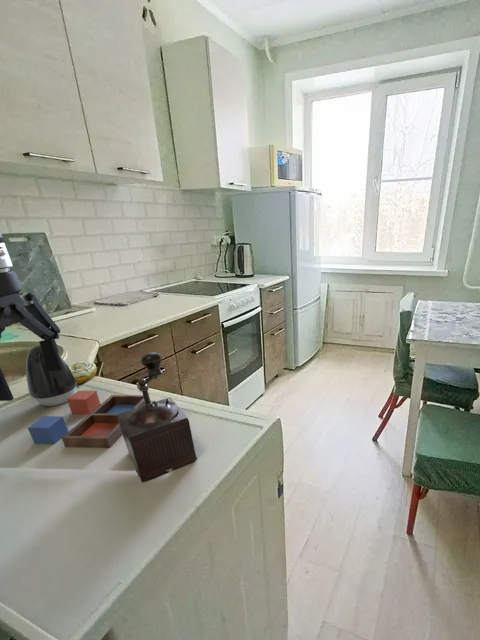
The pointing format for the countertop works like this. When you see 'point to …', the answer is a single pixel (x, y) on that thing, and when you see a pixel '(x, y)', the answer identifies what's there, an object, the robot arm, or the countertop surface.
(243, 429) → the countertop surface
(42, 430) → the slate-blue block
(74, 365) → the decorated donut
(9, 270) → the robot arm
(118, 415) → the manual coffee grinder
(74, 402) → the terracotta block
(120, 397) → the tray
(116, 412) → the blue tile
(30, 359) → the black tapered dome
